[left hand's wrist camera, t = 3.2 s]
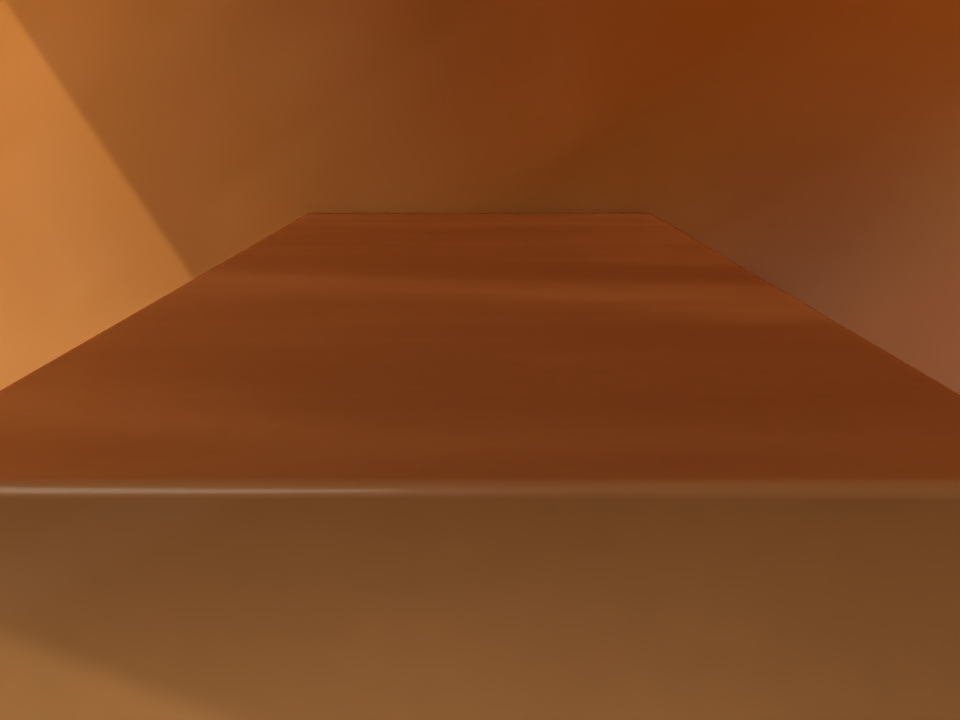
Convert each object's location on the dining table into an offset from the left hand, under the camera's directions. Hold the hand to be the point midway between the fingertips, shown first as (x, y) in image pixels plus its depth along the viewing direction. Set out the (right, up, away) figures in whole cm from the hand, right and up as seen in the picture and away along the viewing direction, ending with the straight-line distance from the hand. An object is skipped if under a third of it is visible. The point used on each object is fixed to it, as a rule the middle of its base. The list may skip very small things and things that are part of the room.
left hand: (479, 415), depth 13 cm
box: (0, -6, +5) cm, 8 cm away
